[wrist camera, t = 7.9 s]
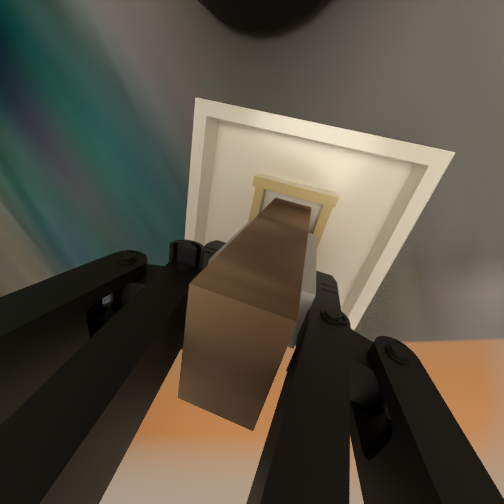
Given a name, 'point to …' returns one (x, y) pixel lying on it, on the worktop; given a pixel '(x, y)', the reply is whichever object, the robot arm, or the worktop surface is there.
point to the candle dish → (311, 188)
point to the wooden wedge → (245, 315)
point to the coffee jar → (259, 12)
